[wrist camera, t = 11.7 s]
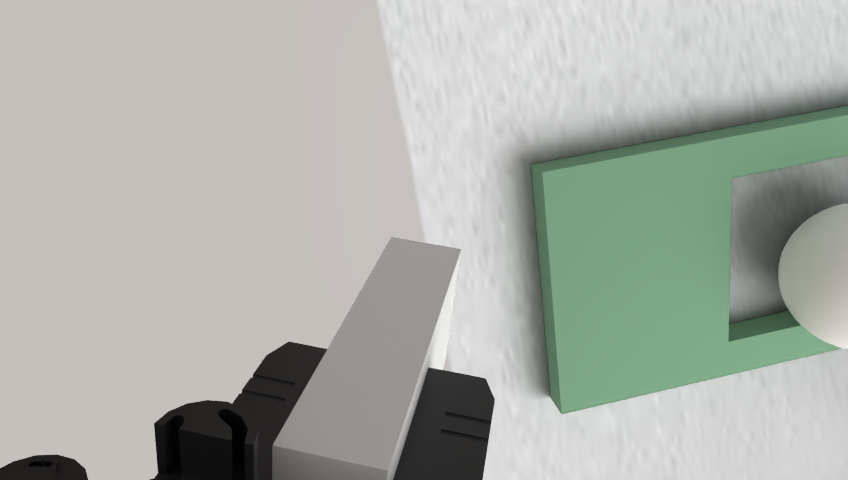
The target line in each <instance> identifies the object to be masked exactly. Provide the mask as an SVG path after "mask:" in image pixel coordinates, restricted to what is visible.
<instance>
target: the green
mask: <svg viewBox="0 0 848 480" xmlns="http://www.w3.org/2000/svg"><path fill="white" fill-rule="evenodd" d="M847 155H848V105H847V106H841V107H836V108H831V109H825V110H820V111H815V112H809V113H804V114H799V115H793V116H788V117H782V118H777V119H772V120H766V121H761V122H756V123H750V124H745V125H739V126H734V127H729V128H723V129H718V130H713V131H707V132H702V133H696V134H691V135H686V136H680V137H675V138H670V139H664V140H659V141H653V142H648V143H643V144H637V145H632V146H627V147H621V148H616V149H610V150H605V151H600V152H594V153H589V154H584V155H578V156H573V157H567V158H562V159H557V160H551V161H546V162H541V163H535V164H531V175H532V187H533V198H534V210H535V222H536V233H537V245H538V257H539V268H540V280H541V292H542V303H543V315H544V327H545V338H546V350H547V362H548V373H549V385H550V397H551V399H552V400H553V402H554V403H555V405H556V406H557V408H558V409H559V411H560V412H561V414H565V413H569V412H574V411H578V410H582V409H586V408H591V407H595V406H599V405H603V404H608V403H612V402H616V401H620V400H625V399H629V398H633V397H637V396H642V395H646V394H650V393H654V392H659V391H663V390H667V389H671V388H676V387H680V386H684V385H688V384H693V383H697V382H701V381H705V380H710V379H714V378H718V377H722V376H727V375H731V374H735V373H739V372H744V371H748V370H752V369H756V368H761V367H765V366H769V365H773V364H778V363H782V362H786V361H790V360H795V359H799V358H803V357H807V356H811V355H816V354H820V353H824V352H828V351H833V350H837V349H841V348H840V347H837V346H834V345H832V344H829V343H827V342H824V341H823V340H821V339H819V338H817V337H816V336H814V335H812V334H811V333H810V332H808V331H807V330H806V329H804V328H803V327H802V326H801V325H800V324H799V323H798V322H797V321H796V320H795V318H794V317H793V316H792V314H791V313H790V311H785V312H780V313H776V314H771V315H767V316H763V317H758V318H754V319H749V320H745V321H740V322H736V323H731V324H729V291H730V242H731V193H732V178H735V177H741V176H746V175H751V174H756V173H761V172H766V171H771V170H776V169H781V168H786V167H791V166H797V165H802V164H807V163H812V162H817V161H822V160H827V159H832V158H837V157H842V156H847Z"/></svg>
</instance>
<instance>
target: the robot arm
mask: <svg viewBox="0 0 848 480" xmlns="http://www.w3.org/2000/svg"><path fill="white" fill-rule="evenodd" d="M460 254H461V249H456V248H450V247H445V246H439V245H433V244H427V243H421V242H416V241H410V240H404V239H399V238H393V237H391V239H390V241H389V242H388V244H387V246H386V248H385V249H384V251H383V253H382V255H381V256H380V258H379V260H378V262H377V263H376V265H375V267H374V269H373V270H372V272H371V274H370V276H369V277H368V279H367V281H366V283H365V284H364V286H363V288H362V290H361V291H360V293H359V295H358V297H357V298H356V300H355V302H354V304H353V305H352V307H351V309H350V311H349V312H348V314H347V316H346V318H345V319H344V321H343V323H342V325H341V326H340V328H339V330H338V332H337V334H336V335H335V337H334V339H333V340H332V342H331V344H330V346H329V347H328V349H323V348H318V347H313V346H308V345H303V344H298V343H293V342H288V343H286V344H284V345H283V346H281V347H280V348H278V349H276V350H275V351H273V352H272V353H270V354H268V355H267V356H266V357H265V358H264V360H263V361H262V363H261V364H260V365H259V367H258V368H257V370H256V371H255V372H254V374H253V378H250V380H249V381H248V382H247V384H246V385H245V387H244V388H243V389H242V393H241V394H239V395H238V397H237V398H236V399H235V401H234V402H233V404H231V403H229V402H223V401H209V400H206V401H201V402H195V403H188V404H185V405H183V406H181V407H178V408H176V409H174V410H171V411H169V412H168V413H166V414H165V415H164V416H163V417H162V418H160V419H159V420H158V421H157V422H156V423H154V426H155V439H156V451H157V464H158V474H157V476H156V477H155V478H154V479H151V480H482V478H483V472H484V465H485V459H486V452H487V446H488V439H489V433H490V426H491V420H492V413H493V407H494V400H495V399H494V397H493V395H492V392H491V390H490V388H489V386H488V383H487V381H486V379H485V378H480V377H475V376H470V375H465V374H460V373H455V372H450V371H444V370H443V367H444V363H445V360H446V354H447V347H448V340H449V333H450V326H451V319H452V312H453V304H454V297H455V290H456V283H457V276H458V269H459V261H460ZM0 480H88V478H87V474H86V470H85V468H84V467H82V466H81V465H80V464H79V463H78V462H77V461H76V460H74V459H71V458H67V457H63V456H60V455H38V456H32V457H29V458H25V459H21V460H18V461H14V462H12V463H10V464H8V465H6V466H4V467H2V468H0Z"/></svg>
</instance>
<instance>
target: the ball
mask: <svg viewBox="0 0 848 480" xmlns="http://www.w3.org/2000/svg"><path fill="white" fill-rule="evenodd" d="M778 282H779V287H780V291H781V295H782V298H783V300H784V302H785V304H786V307H787V308H788V310H789V311H790V313H791V314H792V316H793V317H794V318H795V320H796V321H797V322H798V323H799V324H800V325H801V326H802V327H803V328H804V329H806V330H807V331H808V332H810V333H811V334H812V335H814V336H816V337H817V338H819V339H821V340H823V341H824V342H827V343H829V344H832V345H834V346H837V347H840V348H844V349H848V203H844V204H840V205H836V206H833V207H830V208H827V209H825V210H822V211H820V212H818V213H816V214H815V215H813V216H812V217H810V218H809V219H807V220H806V221H805V222H804V223H803V224H801V225H800V226H799V227H798V228H797V229H796V230H795V232H794V233H793V234H792V235H791V237H790V238H789V240H788V241H787V243H786V245H785V247H784V249H783V251H782V254H781V258H780V262H779V267H778Z"/></svg>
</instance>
